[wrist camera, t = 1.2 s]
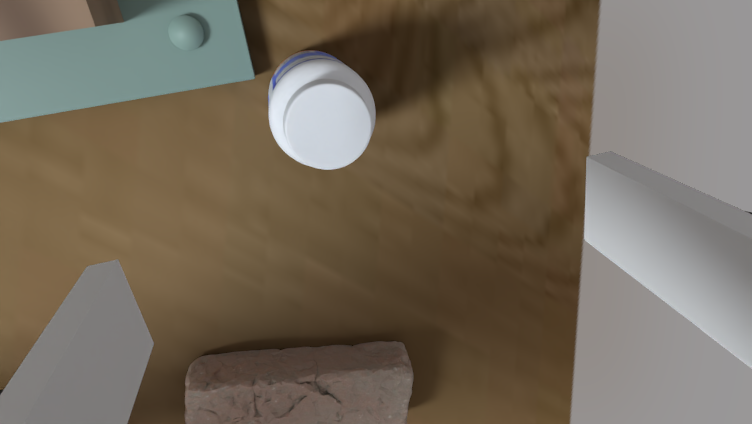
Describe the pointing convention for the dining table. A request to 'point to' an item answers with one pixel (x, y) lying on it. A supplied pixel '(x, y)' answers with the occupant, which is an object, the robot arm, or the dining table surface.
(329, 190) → the dining table surface
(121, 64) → the build board
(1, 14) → the walnut block
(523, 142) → the dining table surface
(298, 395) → the brick
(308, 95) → the pill bottle
